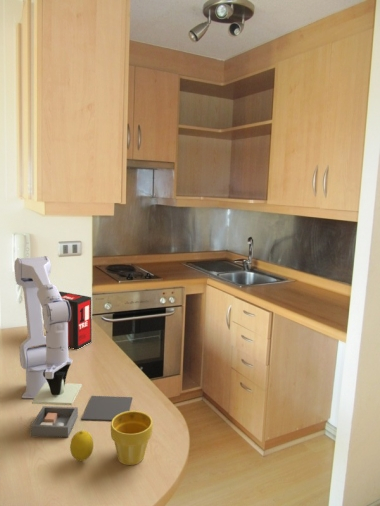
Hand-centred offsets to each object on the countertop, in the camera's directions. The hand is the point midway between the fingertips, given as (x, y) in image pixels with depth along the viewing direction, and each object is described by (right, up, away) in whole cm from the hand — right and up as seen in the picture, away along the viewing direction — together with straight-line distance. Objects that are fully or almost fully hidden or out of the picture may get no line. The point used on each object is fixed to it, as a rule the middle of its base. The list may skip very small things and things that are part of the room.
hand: (57, 390), depth 117 cm
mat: (+12, -9, +11) cm, 19 cm away
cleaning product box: (-14, 0, +60) cm, 62 cm away
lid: (0, -2, 0) cm, 2 cm away
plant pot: (+22, -14, -10) cm, 28 cm away
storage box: (-1, -10, +1) cm, 10 cm away
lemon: (+10, -13, -12) cm, 21 cm away
